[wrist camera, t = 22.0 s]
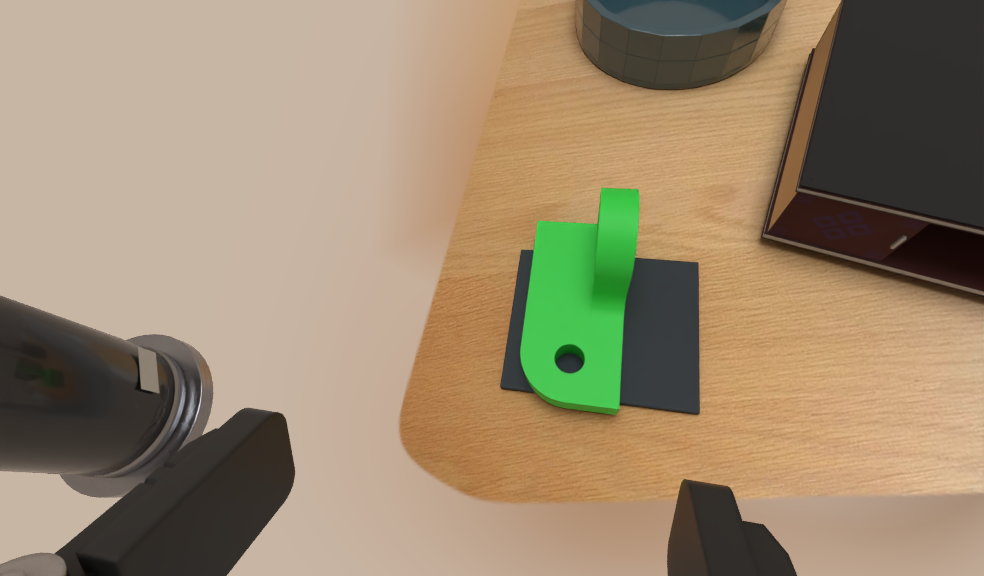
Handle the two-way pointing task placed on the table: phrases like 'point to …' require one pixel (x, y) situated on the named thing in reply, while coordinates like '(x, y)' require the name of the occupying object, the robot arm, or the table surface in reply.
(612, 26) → the pot
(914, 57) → the miniature tv stand
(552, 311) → the mechanical part
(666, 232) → the table surface
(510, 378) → the mat
